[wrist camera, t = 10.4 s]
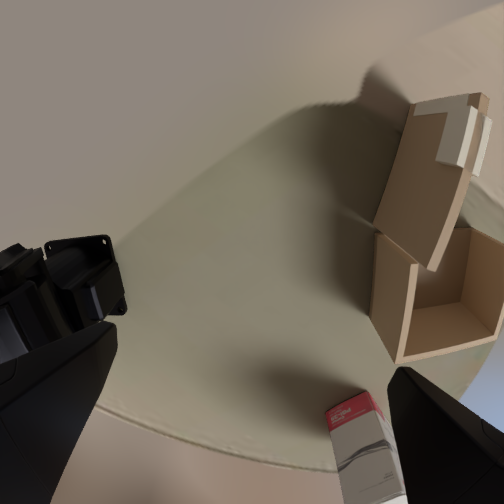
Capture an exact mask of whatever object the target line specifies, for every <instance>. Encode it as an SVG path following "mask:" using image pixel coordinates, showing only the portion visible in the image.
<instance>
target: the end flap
mask: <svg viewBox="0 0 504 504" xmlns="http://www.w3.org/2000/svg"><path fill="white" fill-rule="evenodd" d="M488 105H489V98H488V97H487V96H486V95H484V94H483V93H481V92H480V93H473V94H462V95H456V96H450V97H444V98H439V99H433V100H428V101H423V102H418V103H415V104H411V105H410V109H409V113H408V116H407V120H406V124H405V127H404V131H403V134H402V138H401V141H400V144H399V147H398V151H397V154H396V157H395V160H394V163H393V167H392V170H391V173H390V176H389V179H388V182H387V185H386V188H385V190H384V193H383V196H382V199H381V202H380V205H379V207H378V210H377V213H376V216H375V218H374V221H373V224H372V225H373V226H374V227H376V228H377V229H378V230H379V231H381V232H382V233H383V234H385V235H386V236H387V237H388V238H390V239H391V240H392V241H393V242H395V243H396V244H397V245H398V246H399V247H401V248H402V249H403V250H404V251H406V252H407V253H408V254H409V255H410V256H412V257H413V258H414V259H415V260H416V261H418V262H419V263H420V264H421V265H422V266H423V267H425V268H426V269H428V270H431V271H434V272H436V270H437V267H438V265H439V263H440V260H441V258H442V256H443V253H444V251H445V249H446V246H447V244H448V241H449V239H450V236H451V234H452V231H453V229H454V226H455V223H456V221H457V218H458V215H459V212H460V209H461V207H462V204H463V201H464V198H465V195H466V192H467V189H468V185H469V182H470V179H471V176H476V177H479V173H480V170H481V166H482V162H483V159H484V155H485V151H486V147H487V143H488V138H489V134H490V129H491V125H492V120H491V119H489V118H488V117H487V116H486V115H487V110H488Z"/></svg>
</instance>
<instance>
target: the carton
mask: <svg viewBox="0 0 504 504" xmlns="http://www.w3.org/2000/svg"><path fill="white" fill-rule="evenodd" d="M369 318H370V320H371V322H372V324H373V325H374V327H375V329H376V331H377V333H378V334H379V336H380V338H381V340H382V342H383V343H384V345H385V347H386V349H387V351H388V353H389V355H390V356H391V358H392V360H393V362H394V364H399V363H405V362H410V361H415V360H419V359H424V358H429V357H433V356H438V355H442V354H446V353H450V352H454V351H458V350H462V349H466V348H469V347H473V346H477V345H480V344H484V343H487V342H490V341H494V340H497V337H498V334H499V331H500V327H501V324H502V321H503V318H504V244H503V243H501V242H499V241H497V240H495V239H494V238H492V237H490V236H488V235H486V234H484V233H482V232H480V231H478V230H476V229H474V228H472V227H470V228H454V229H453V231H452V234H451V236H450V239H449V241H448V244H447V246H446V249H445V251H444V253H443V256H442V258H441V260H440V263H439V265H438V267H437V270H436V272H434V271H431V270H428V269H426V268H425V267H423V266H422V265H421V264H420V263H419V262H418V261H416V260H415V259H414V258H413V257H412V256H410V255H409V254H408V253H407V252H406V251H404V250H403V249H402V248H401V247H399V246H398V245H397V244H396V243H395V242H393V241H392V240H391V239H390V238H388V237H387V236H386V235H385V234H383V233H375V235H374V258H373V275H372V288H371V300H370V310H369Z"/></svg>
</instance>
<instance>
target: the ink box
mask: <svg viewBox="0 0 504 504" xmlns="http://www.w3.org/2000/svg"><path fill="white" fill-rule="evenodd" d="M325 414H326V418H327V423H328V427H329V432H330V436H331V441H332V445H333V450H334V455H335V460H336V464H337V469H338V474H339V479H340V484H341V489H342V495H343V499H344V504H408V502H407V496H406V491H405V485H404V480H403V475H402V470H401V465H400V460H399V456H398V451H397V447H396V442H395V438H394V434H393V429H392V427H391V425H390V424H389V422H388V421H387V419H386V418H385V416H384V415H383V413H382V412H381V410H380V409H379V407H378V406H377V404H376V403H375V401H374V400H373V398H372V397H371V395H370V393H369V392H363V393H361V394H359V395H357V396H355V397H353V398H351V399H349V400H347V401H345V402H343V403H341V404H339V405H337V406H335V407H334V408H332V409H330V410H329V411H327V412H326V413H325Z"/></svg>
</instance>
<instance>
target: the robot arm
mask: <svg viewBox="0 0 504 504" xmlns="http://www.w3.org/2000/svg"><path fill="white" fill-rule="evenodd" d="M103 239H104V240H105V241H106V244H104V243H103ZM49 246H50V247H51V249H50V248H49ZM44 249H45V253H46V257H47V259H46V260H45V261H44V258H43V256H44V254H43V251H42V248H41V247H40V248H37V249H34V250H33V249H32V248H31V249H25V248H24V247H23V246H22V245H20V244H19V243H17V244H15V245H12V246H10V247H9V248H7V249H5V250H3V251H1V252H0V504H50V502H51V499H52V496H53V494H54V492H55V490H56V487H57V485H58V483H59V480H60V478H61V476H62V474H63V471H64V469H65V466H66V465H67V462H68V460H69V458H70V455H71V454H72V451H73V449H74V447H75V445H76V443H77V441H78V438H79V436H80V434H81V432H82V430H83V428H84V426H85V424H86V422H87V420H88V418H89V416H90V414H91V412H92V410H93V408H94V406H95V404H96V402H97V400H98V398H99V396H100V394H101V392H102V389H103V387H104V384H105V381H106V379H107V376H108V373H109V371H110V368H111V365H112V363H113V360H114V358H115V355H116V352H117V348H118V343H117V328H116V325H115V324H114V323H111V322H107V321H103V320H104V319H105V317H106V316H107V315H124V314H125V313H126V312H127V305H126V301H125V297H124V293H125V291H124V287H123V283H122V279H121V275H120V271H119V267H118V263H117V262H116V261H115V256H114V252H113V247H112V243H111V239H110V237H109V236H108V235H95V236H87V237H78V238H70V239H61V240H53V241H49V242H47V243H46V244H45V245H44ZM119 307H121V308H122V309H123V310H120V308H119ZM99 321H101V322H99ZM98 322H99V323H98ZM387 394H388V400H389V407H390V415H391V423H392V429H393V434H394V438H395V442H396V447H397V451H398V456H399V460H400V465H401V470H402V475H403V480H404V485H405V491H406V496H407V502H408V504H504V433H503V432H501V431H500V430H498V429H496V428H495V427H494V426H492V425H491V424H489V423H488V422H486V421H485V420H484V419H481V418H480V417H479V416H478V415H476V414H475V413H474V412H472V411H471V410H469V409H468V408H467V407H465V406H464V405H462V404H461V403H460V402H458V401H457V400H455V399H454V398H453V397H451V396H450V395H448V394H447V393H446V392H444V391H443V390H441V389H440V388H439V387H437V386H436V385H434V384H433V383H432V382H430V381H429V380H427V379H426V378H425V377H423V376H422V375H420V374H419V373H418V372H416V371H415V370H413V369H412V368H411V367H402V366H401V367H398V368H397V369H396V371H395V373H394V375H393V377H392V379H391V381H390V382H389V384H388V388H387Z"/></svg>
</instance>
